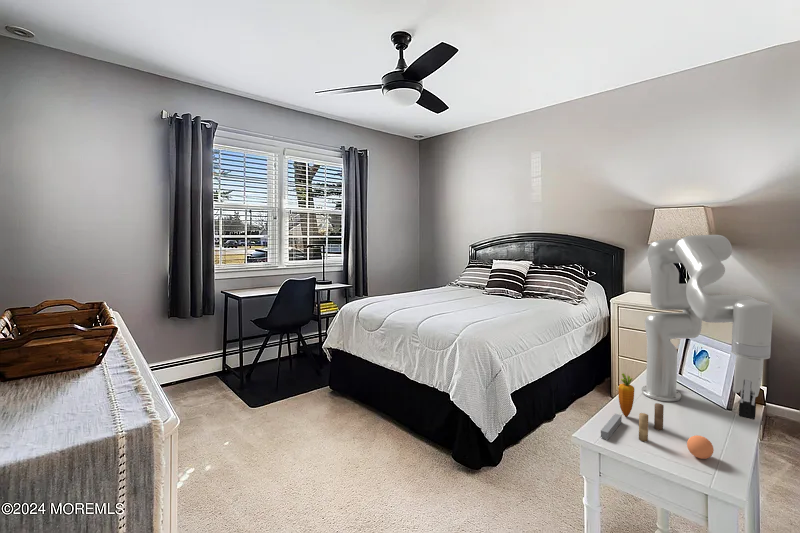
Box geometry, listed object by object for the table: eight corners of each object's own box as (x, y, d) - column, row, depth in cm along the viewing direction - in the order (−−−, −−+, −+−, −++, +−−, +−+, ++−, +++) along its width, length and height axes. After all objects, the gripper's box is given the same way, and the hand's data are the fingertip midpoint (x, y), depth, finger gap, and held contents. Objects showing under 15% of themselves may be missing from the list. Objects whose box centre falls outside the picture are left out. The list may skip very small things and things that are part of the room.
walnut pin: (655, 425, 130) (655, 402, 129) (663, 428, 128) (664, 404, 127) (653, 428, 128) (653, 405, 127) (662, 431, 126) (662, 407, 125)
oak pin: (639, 436, 124) (640, 412, 123) (648, 439, 122) (649, 414, 122) (637, 439, 122) (638, 415, 121) (646, 442, 121) (647, 417, 120)
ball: (688, 448, 117) (689, 429, 116) (714, 456, 113) (715, 436, 112) (684, 457, 113) (685, 437, 112) (711, 466, 108) (712, 445, 108)
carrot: (636, 420, 134) (637, 377, 132) (620, 419, 135) (621, 377, 133) (631, 413, 138) (631, 372, 137) (615, 412, 139) (616, 371, 138)
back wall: (614, 420, 134) (615, 413, 134) (621, 422, 133) (621, 415, 133) (600, 437, 124) (600, 430, 124) (607, 440, 123) (607, 432, 123)
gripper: (734, 339, 110) (731, 402, 112) (728, 354, 99) (725, 423, 102) (771, 344, 105) (767, 410, 107) (769, 360, 94) (764, 433, 96)
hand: (746, 416), depth 104 cm, fingers closed
